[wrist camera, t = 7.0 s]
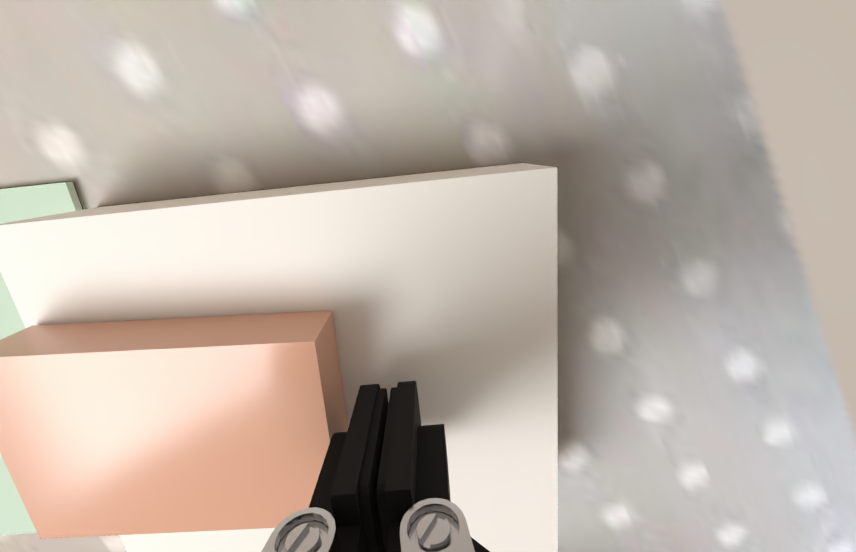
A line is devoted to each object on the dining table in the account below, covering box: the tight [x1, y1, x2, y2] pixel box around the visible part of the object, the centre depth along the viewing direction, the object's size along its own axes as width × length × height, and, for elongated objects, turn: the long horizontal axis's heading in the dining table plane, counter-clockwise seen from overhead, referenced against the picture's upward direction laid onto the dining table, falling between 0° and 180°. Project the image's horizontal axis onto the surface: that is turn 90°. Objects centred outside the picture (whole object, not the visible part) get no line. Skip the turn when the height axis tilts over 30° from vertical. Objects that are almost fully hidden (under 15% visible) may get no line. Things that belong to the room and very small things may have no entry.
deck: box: [0, 163, 558, 552], centre depth 15 cm, size 16×14×4 cm
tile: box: [0, 310, 348, 539], centre depth 12 cm, size 9×6×2 cm, turn 93°
